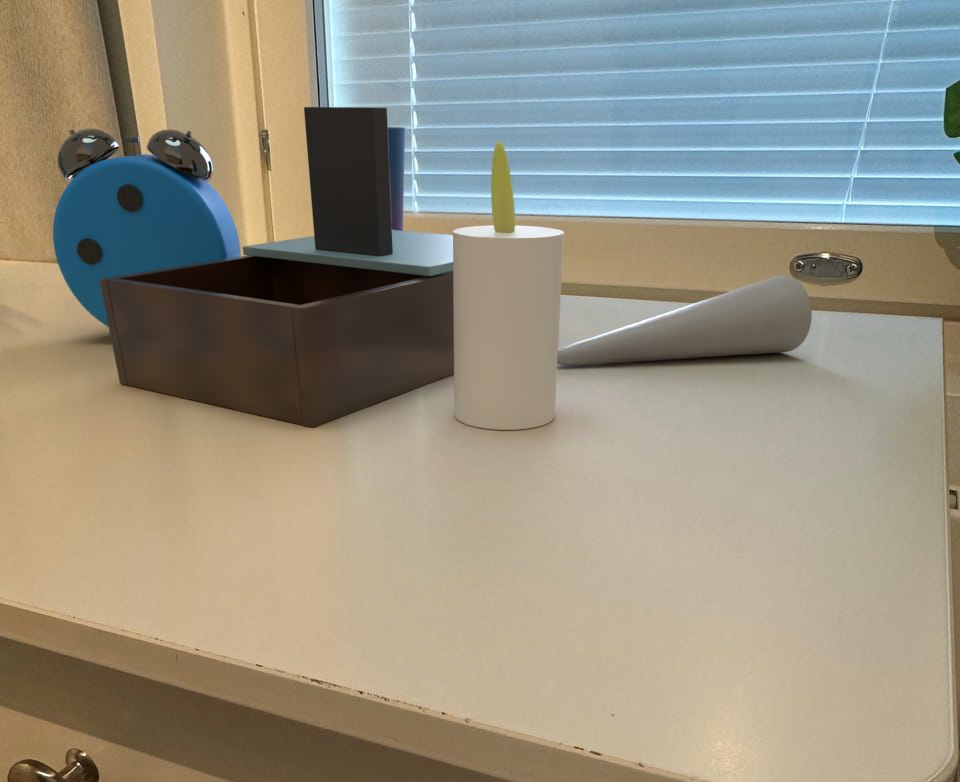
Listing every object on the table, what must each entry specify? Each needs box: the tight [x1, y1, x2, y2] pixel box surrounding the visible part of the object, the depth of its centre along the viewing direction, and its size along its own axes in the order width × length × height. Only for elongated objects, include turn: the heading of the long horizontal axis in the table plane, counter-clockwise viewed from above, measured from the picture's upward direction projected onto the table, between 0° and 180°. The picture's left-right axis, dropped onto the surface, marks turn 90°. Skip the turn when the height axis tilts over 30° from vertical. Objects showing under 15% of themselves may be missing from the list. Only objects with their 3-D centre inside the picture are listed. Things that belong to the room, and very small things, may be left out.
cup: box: [388, 126, 406, 231], centre depth 84 cm, size 7×7×15 cm
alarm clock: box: [52, 127, 242, 328], centre depth 70 cm, size 13×6×15 cm, turn 92°
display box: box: [99, 255, 454, 428], centre depth 66 cm, size 18×29×7 cm, turn 148°
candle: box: [452, 140, 565, 431], centre depth 52 cm, size 6×6×15 cm
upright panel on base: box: [242, 106, 453, 276], centre depth 66 cm, size 17×15×10 cm
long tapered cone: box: [557, 274, 813, 366], centre depth 66 cm, size 6×6×19 cm
